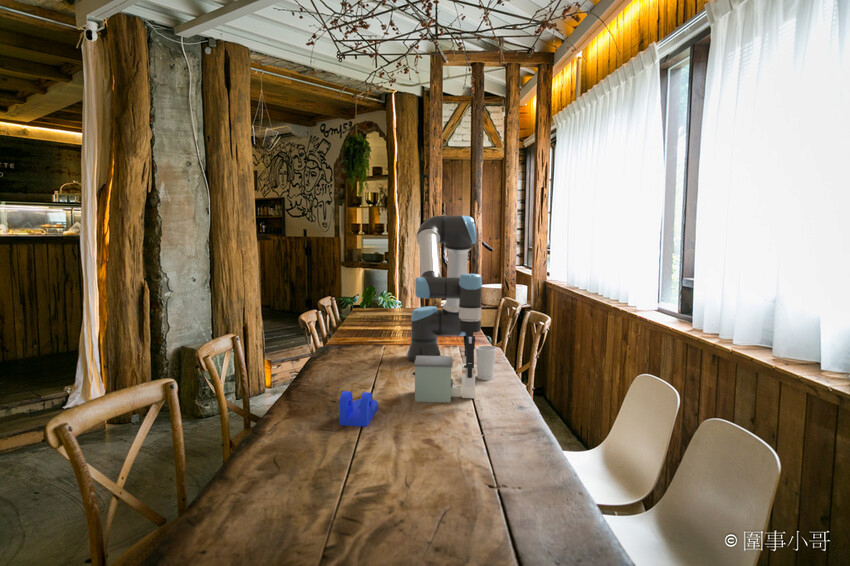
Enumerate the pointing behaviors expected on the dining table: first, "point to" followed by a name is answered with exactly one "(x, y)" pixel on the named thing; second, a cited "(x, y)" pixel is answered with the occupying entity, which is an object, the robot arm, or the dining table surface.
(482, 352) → the cup
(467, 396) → the pink striped cream block
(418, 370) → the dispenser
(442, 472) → the dining table surface
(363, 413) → the bracket
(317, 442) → the dining table surface
